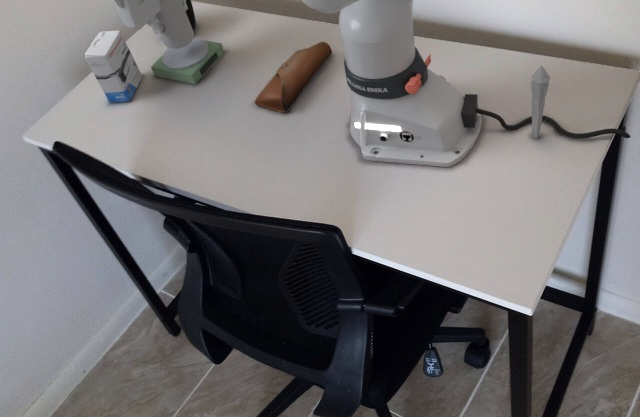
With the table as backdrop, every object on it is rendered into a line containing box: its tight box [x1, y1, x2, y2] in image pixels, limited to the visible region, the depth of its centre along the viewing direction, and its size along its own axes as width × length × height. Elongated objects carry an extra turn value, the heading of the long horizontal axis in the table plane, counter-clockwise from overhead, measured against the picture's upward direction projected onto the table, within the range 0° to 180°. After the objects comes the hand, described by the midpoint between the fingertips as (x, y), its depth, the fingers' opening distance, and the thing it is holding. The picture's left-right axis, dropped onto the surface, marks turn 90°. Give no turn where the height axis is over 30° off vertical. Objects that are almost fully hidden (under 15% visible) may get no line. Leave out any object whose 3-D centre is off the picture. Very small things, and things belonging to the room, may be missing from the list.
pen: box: [530, 65, 551, 139], centre depth 99 cm, size 2×3×14 cm
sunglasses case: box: [253, 41, 333, 114], centre depth 125 cm, size 18×7×7 cm, turn 151°
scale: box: [150, 37, 225, 85], centre depth 136 cm, size 11×11×3 cm
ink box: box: [84, 30, 143, 104], centre depth 131 cm, size 8×5×12 cm, turn 171°
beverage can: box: [155, 0, 195, 49], centre depth 128 cm, size 6×6×12 cm
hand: (172, 21), depth 129 cm, fingers closed on beverage can, 6 cm apart
